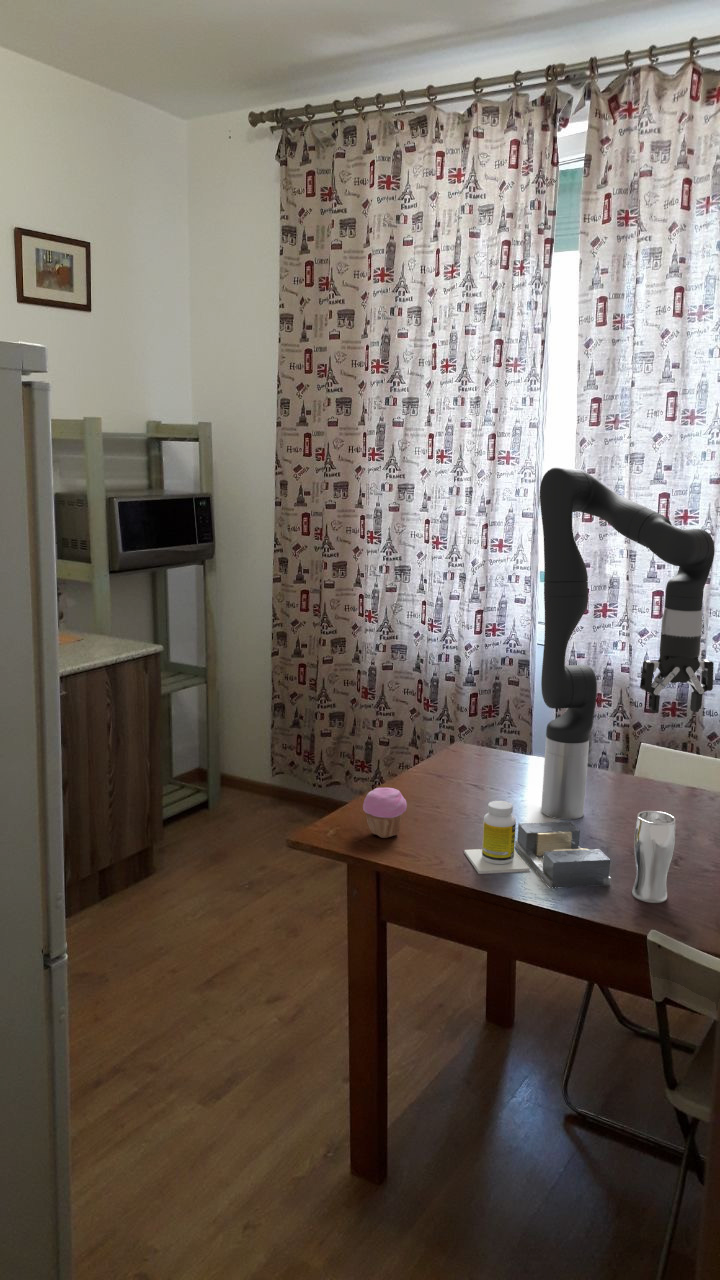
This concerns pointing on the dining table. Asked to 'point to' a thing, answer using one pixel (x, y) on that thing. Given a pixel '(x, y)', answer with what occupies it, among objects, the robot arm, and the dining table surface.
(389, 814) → the cupcake
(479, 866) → the placing pad
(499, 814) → the pill bottle
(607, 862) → the bench vise
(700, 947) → the dining table surface
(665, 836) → the beer glass
